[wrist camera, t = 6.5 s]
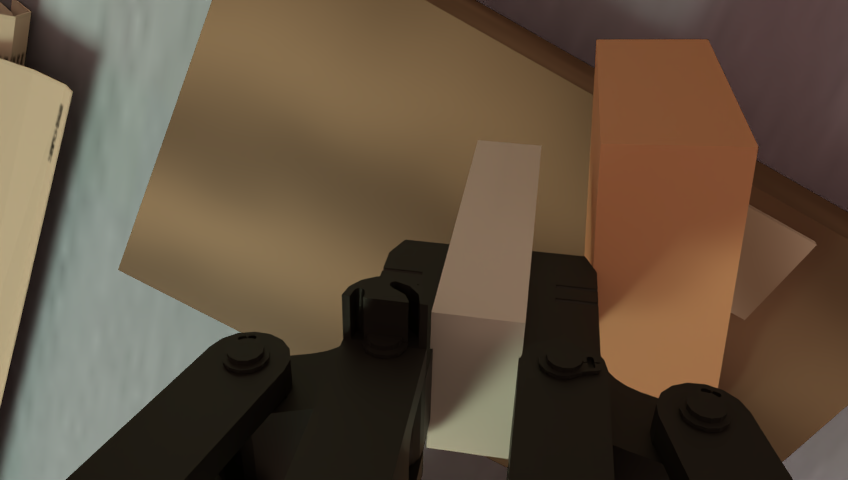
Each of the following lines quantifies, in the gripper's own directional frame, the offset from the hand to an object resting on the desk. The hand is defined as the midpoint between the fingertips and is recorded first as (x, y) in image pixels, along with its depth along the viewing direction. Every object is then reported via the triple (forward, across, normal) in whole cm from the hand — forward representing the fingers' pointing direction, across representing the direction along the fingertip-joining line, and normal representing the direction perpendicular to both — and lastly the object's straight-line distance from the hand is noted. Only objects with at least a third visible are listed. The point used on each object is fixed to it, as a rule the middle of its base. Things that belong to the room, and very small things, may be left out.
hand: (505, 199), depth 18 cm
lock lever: (+2, +3, -4) cm, 6 cm away
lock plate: (+7, 0, -5) cm, 9 cm away
